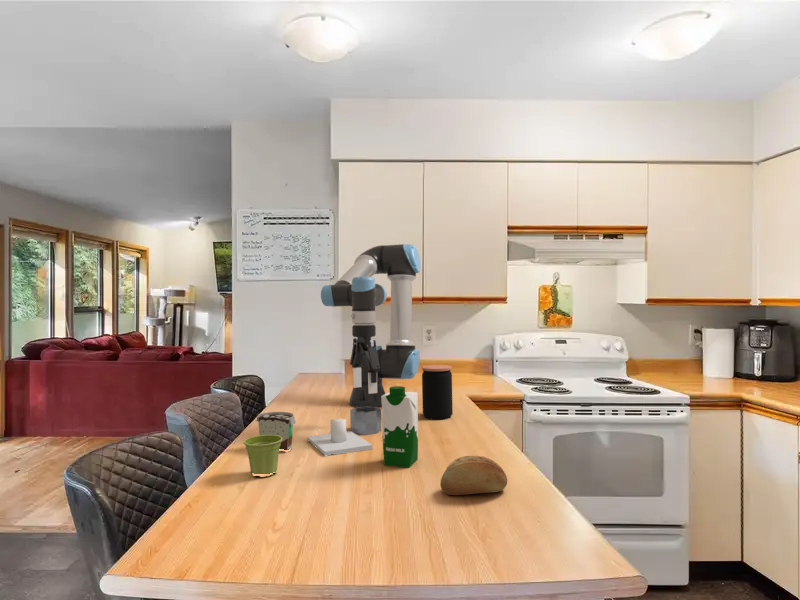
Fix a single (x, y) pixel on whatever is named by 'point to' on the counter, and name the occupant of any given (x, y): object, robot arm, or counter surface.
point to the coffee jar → (437, 392)
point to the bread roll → (473, 476)
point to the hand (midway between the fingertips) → (364, 390)
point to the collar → (365, 420)
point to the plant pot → (263, 453)
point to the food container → (277, 426)
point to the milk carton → (400, 427)
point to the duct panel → (339, 440)
